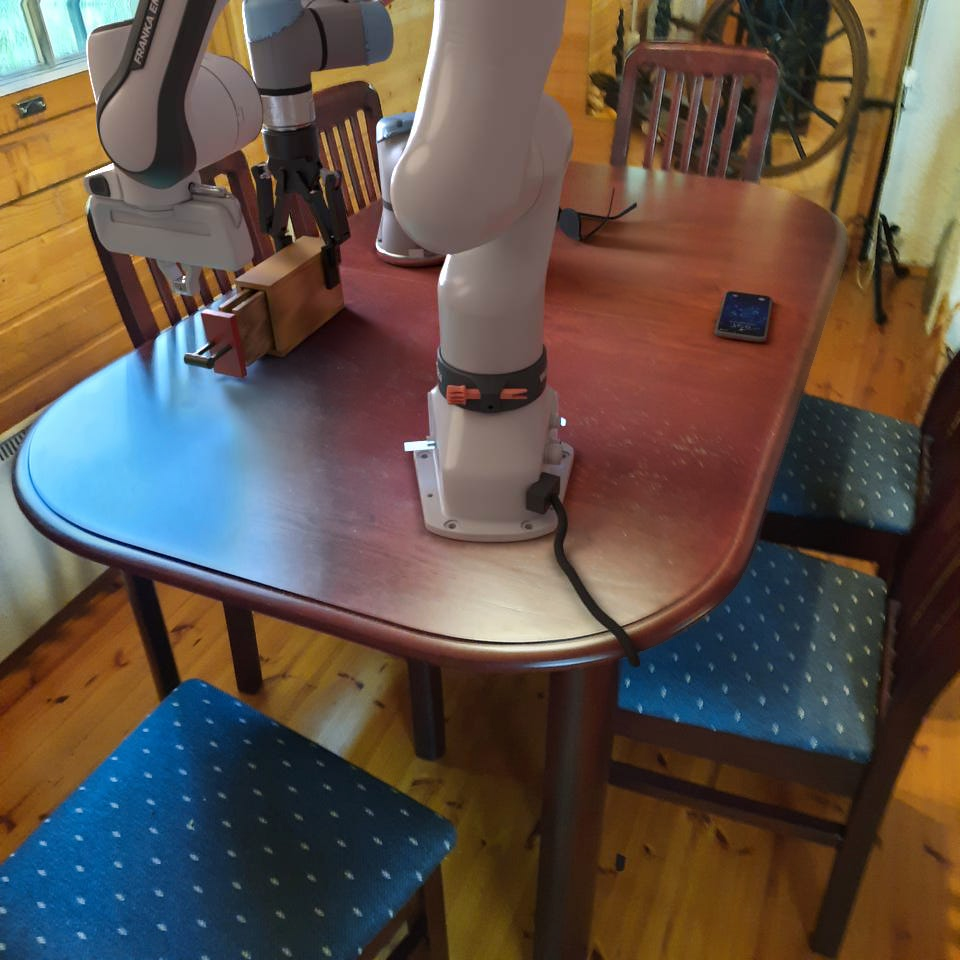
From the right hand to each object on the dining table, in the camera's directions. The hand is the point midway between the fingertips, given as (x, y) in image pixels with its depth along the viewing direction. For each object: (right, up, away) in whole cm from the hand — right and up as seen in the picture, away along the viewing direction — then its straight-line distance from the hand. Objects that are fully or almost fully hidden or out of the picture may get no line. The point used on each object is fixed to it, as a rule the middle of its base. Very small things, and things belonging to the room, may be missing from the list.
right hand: (187, 293), depth 105 cm
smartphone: (+75, +1, +23) cm, 79 cm away
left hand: (+10, +7, +25) cm, 28 cm away
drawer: (+4, -6, +15) cm, 17 cm away
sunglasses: (+57, +25, +56) cm, 84 cm away
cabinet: (+8, 0, +24) cm, 26 cm away
